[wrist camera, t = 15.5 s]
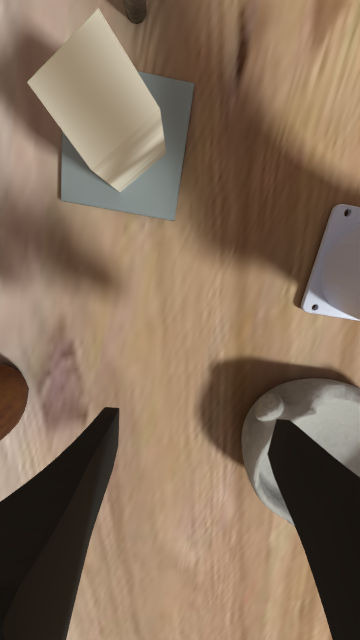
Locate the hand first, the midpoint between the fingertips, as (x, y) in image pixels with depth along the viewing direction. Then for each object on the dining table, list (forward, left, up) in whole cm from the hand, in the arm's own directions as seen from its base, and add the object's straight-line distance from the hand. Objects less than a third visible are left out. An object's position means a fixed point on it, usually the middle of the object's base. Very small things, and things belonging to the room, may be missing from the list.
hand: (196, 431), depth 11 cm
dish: (-13, +8, -11) cm, 19 cm away
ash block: (+7, -13, -10) cm, 18 cm away
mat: (+7, -13, -10) cm, 18 cm away
